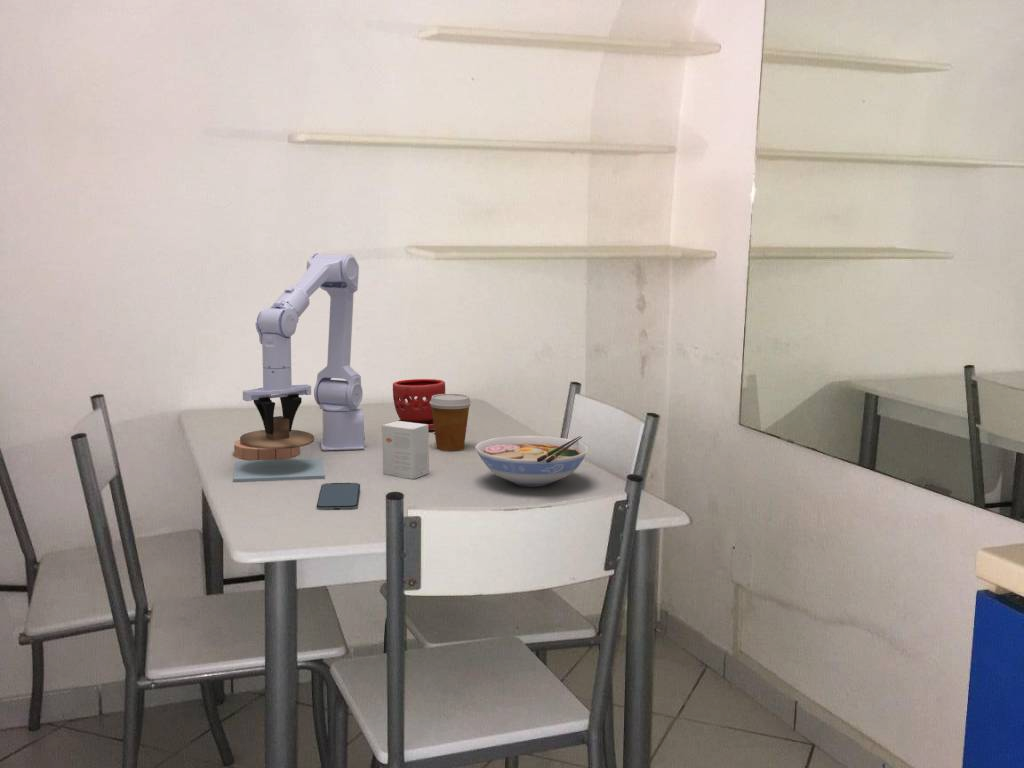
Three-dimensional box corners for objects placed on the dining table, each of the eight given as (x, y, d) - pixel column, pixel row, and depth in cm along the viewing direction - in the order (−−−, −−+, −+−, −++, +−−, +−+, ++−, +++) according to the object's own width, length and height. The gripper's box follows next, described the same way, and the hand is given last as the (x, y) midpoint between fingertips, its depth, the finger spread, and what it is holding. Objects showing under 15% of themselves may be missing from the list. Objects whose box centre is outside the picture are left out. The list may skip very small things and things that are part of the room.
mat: (321, 460, 230) (321, 457, 230) (325, 478, 215) (324, 475, 215) (235, 463, 226) (235, 460, 226) (233, 482, 211) (232, 479, 211)
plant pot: (447, 423, 273) (447, 377, 271) (442, 434, 260) (443, 385, 258) (396, 422, 273) (396, 376, 271) (389, 433, 260) (389, 384, 258)
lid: (292, 428, 230) (292, 408, 229) (327, 443, 219) (327, 421, 218) (227, 437, 221) (227, 415, 220) (260, 452, 210) (260, 429, 209)
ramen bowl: (501, 464, 230) (502, 426, 228) (603, 474, 221) (604, 436, 220) (453, 491, 207) (454, 450, 205) (565, 504, 198) (566, 461, 197)
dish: (298, 445, 245) (298, 434, 244) (300, 459, 231) (299, 448, 231) (235, 447, 242) (235, 436, 241) (233, 461, 228) (233, 450, 228)
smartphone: (315, 506, 192) (321, 482, 206) (315, 515, 192) (321, 491, 207) (357, 505, 193) (360, 482, 207) (358, 514, 193) (360, 490, 208)
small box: (429, 474, 220) (429, 424, 218) (413, 479, 215) (413, 428, 213) (398, 469, 224) (398, 420, 222) (382, 474, 219) (381, 424, 217)
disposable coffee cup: (428, 452, 239) (428, 400, 238) (430, 443, 249) (430, 393, 247) (470, 452, 240) (471, 400, 238) (471, 444, 249) (471, 393, 247)
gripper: (299, 362, 225) (300, 425, 227) (235, 367, 216) (236, 433, 218) (315, 365, 219) (316, 430, 222) (251, 371, 210) (252, 438, 212)
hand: (278, 432), depth 219 cm, fingers closed on lid, 3 cm apart
